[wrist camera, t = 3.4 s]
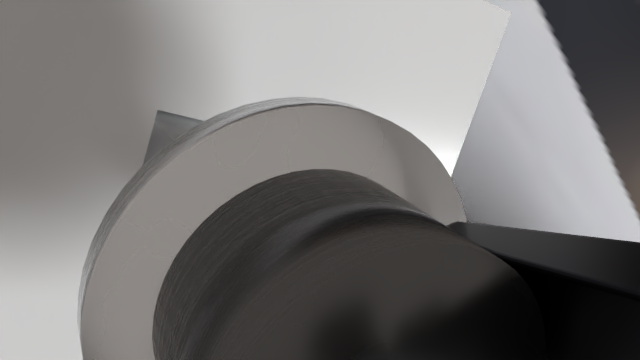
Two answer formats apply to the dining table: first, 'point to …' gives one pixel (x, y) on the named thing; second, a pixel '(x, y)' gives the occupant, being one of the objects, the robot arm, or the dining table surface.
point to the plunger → (296, 248)
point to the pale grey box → (192, 108)
